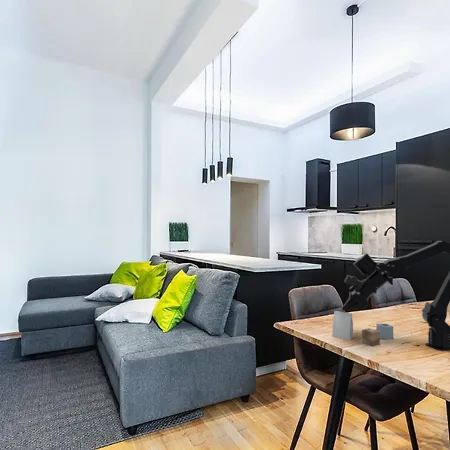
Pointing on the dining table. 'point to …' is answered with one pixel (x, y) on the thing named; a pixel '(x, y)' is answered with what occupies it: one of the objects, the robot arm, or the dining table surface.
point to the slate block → (385, 330)
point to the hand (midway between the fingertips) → (342, 309)
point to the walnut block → (371, 337)
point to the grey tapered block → (343, 325)
